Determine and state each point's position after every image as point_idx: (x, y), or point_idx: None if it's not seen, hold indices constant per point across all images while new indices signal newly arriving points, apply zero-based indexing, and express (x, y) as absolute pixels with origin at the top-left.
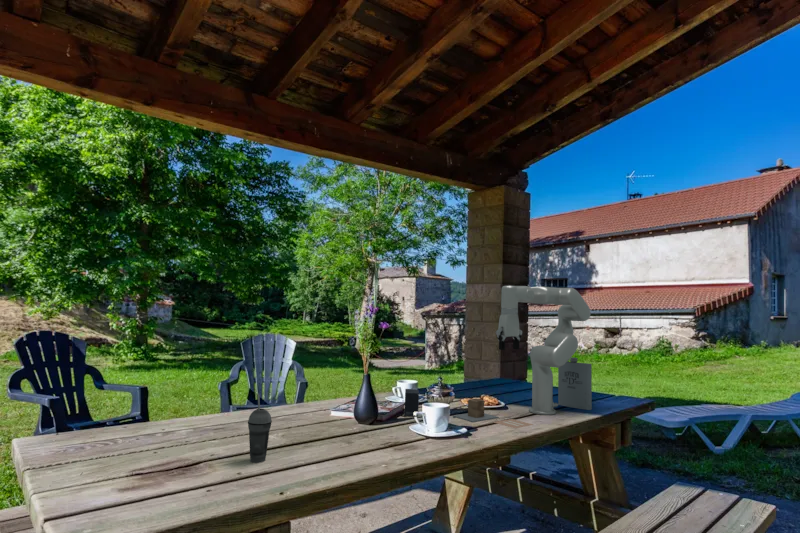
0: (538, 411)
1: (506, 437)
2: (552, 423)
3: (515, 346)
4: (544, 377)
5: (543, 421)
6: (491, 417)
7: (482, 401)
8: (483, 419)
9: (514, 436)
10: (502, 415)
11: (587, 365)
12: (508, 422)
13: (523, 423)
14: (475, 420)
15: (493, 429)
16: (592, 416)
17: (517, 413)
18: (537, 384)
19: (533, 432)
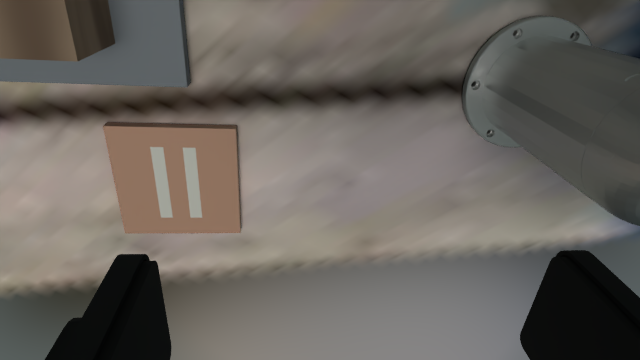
0: (474, 103)
1: (33, 264)
2: (354, 225)
3: (563, 334)
4: (603, 206)
5: (355, 192)
6: (141, 77)
7: (61, 59)
8: (73, 83)
9: (71, 268)
10: (294, 18)
11: None
12: (168, 164)
13: (216, 203)
14: (15, 78)
15: (55, 176)
16: (586, 231)
17: (402, 31)
18: (562, 143)
19: (178, 266)
